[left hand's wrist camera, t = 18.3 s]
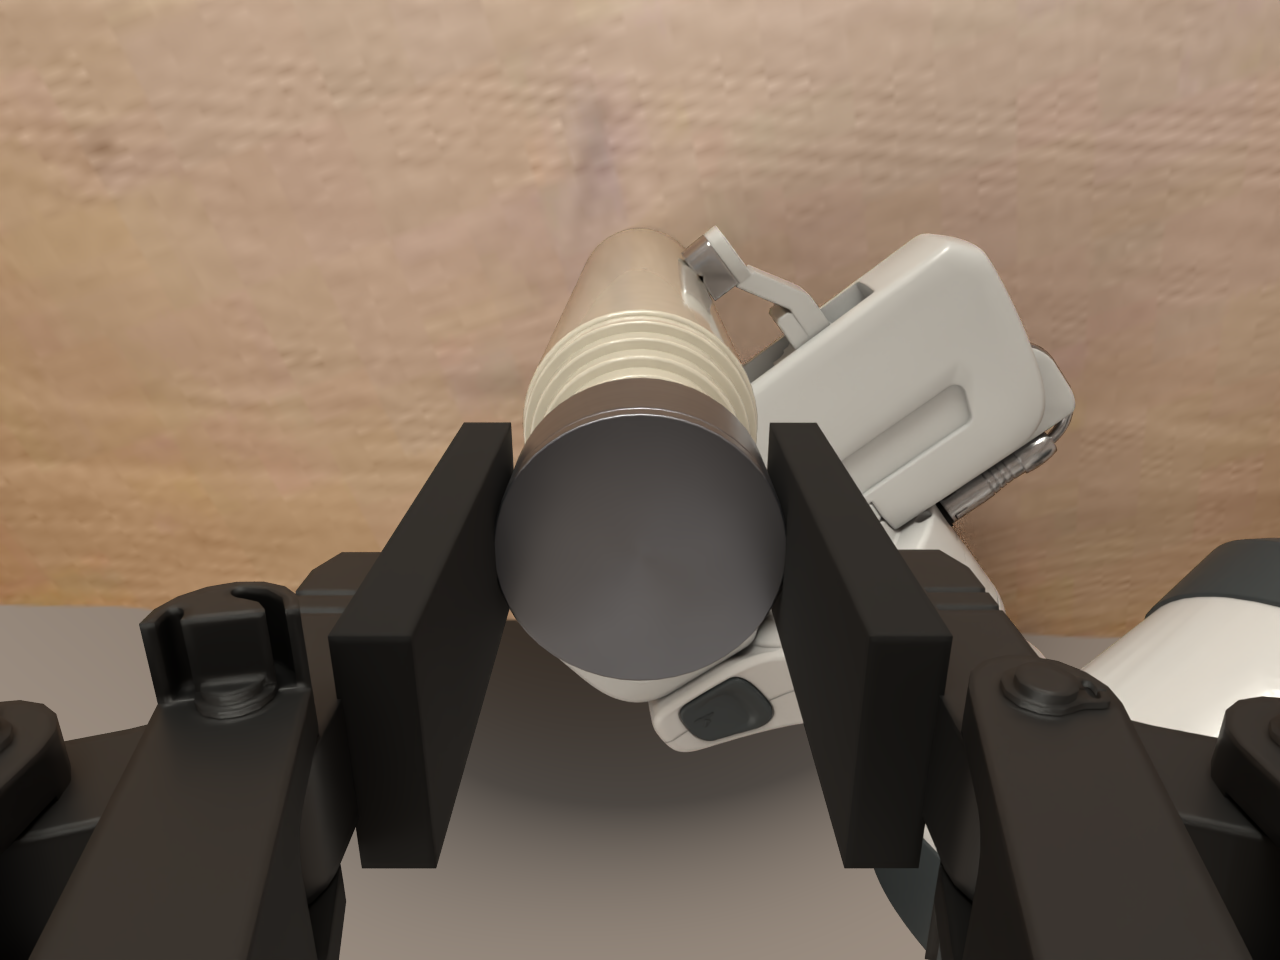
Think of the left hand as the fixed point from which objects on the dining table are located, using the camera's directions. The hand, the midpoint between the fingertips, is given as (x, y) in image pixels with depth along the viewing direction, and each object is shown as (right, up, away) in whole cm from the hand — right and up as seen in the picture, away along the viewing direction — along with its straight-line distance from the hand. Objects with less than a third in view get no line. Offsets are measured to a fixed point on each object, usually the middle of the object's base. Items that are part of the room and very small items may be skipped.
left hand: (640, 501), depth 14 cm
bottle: (0, +8, +21) cm, 23 cm away
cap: (0, -1, -2) cm, 2 cm away
